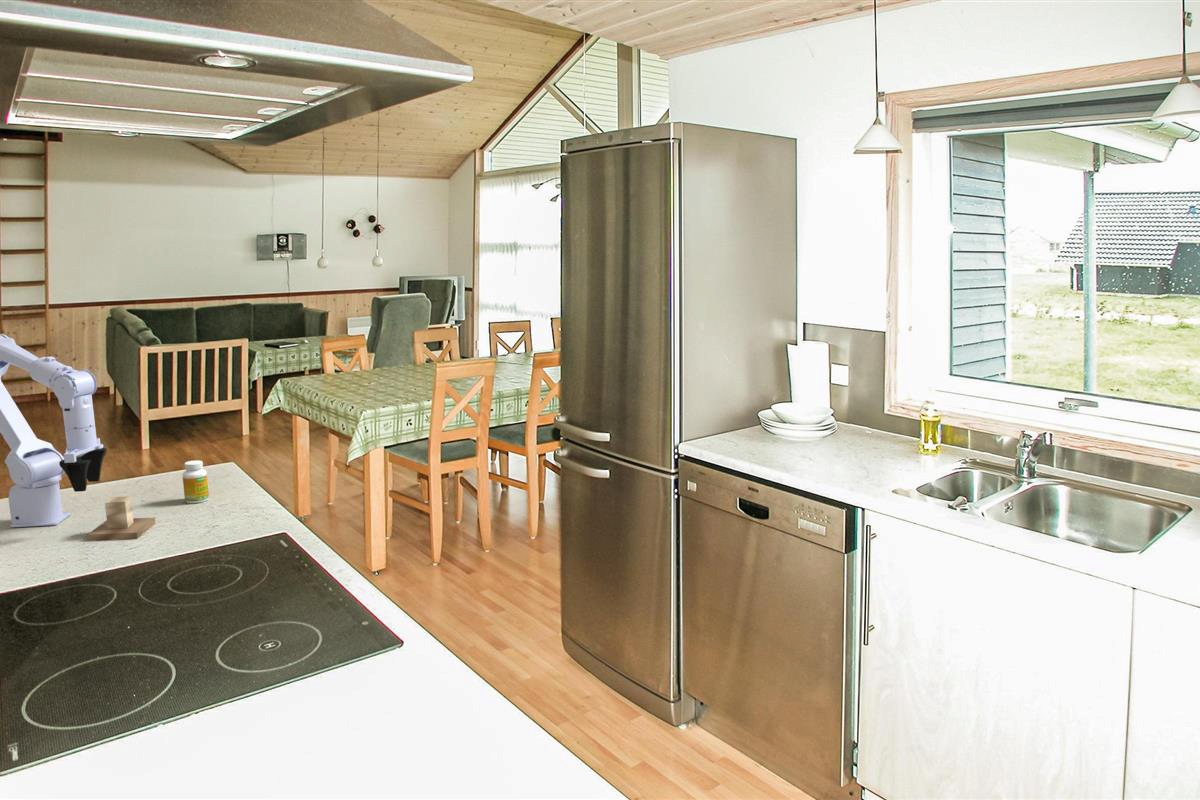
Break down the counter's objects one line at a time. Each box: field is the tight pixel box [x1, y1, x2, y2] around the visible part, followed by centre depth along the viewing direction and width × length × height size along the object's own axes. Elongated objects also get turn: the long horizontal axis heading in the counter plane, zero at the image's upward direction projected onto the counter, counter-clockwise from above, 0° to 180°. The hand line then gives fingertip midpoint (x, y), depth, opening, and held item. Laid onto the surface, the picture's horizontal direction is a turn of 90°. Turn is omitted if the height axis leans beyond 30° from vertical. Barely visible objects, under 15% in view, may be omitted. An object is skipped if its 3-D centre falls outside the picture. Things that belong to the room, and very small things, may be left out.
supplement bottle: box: [182, 459, 210, 504], centre depth 209 cm, size 5×5×10 cm
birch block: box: [104, 495, 134, 529], centre depth 187 cm, size 4×4×6 cm
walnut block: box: [87, 517, 156, 541], centre depth 188 cm, size 10×10×2 cm
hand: (87, 486), depth 190 cm, fingers open, 7 cm apart
